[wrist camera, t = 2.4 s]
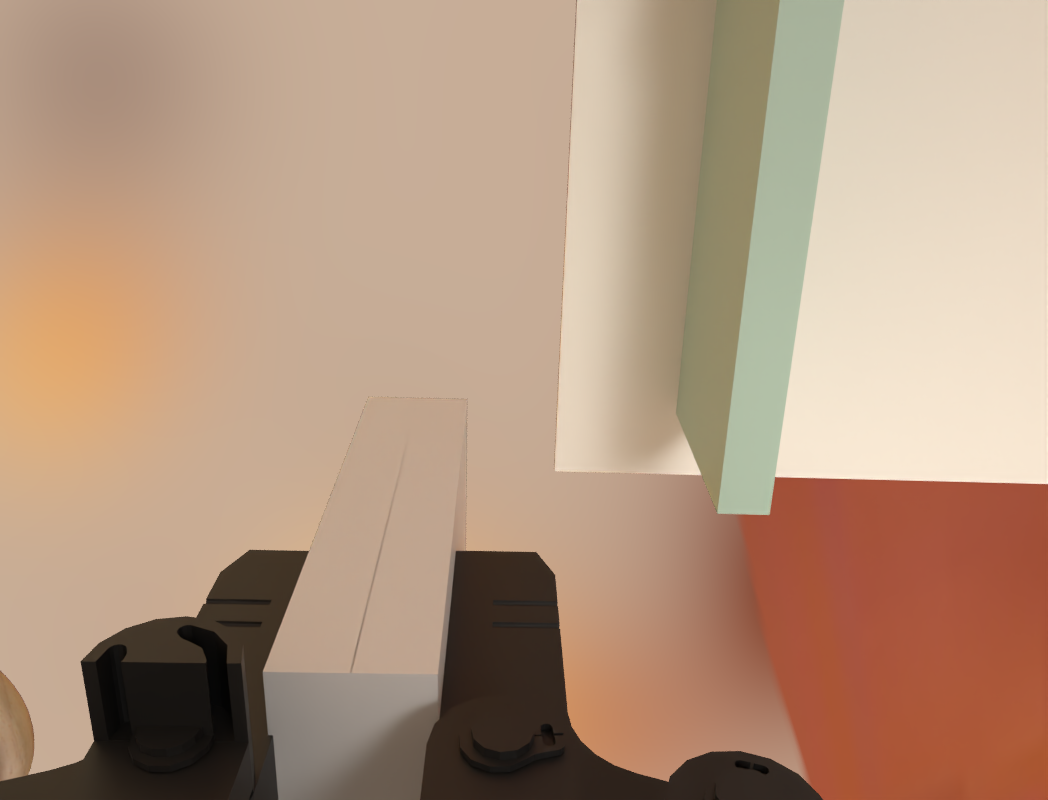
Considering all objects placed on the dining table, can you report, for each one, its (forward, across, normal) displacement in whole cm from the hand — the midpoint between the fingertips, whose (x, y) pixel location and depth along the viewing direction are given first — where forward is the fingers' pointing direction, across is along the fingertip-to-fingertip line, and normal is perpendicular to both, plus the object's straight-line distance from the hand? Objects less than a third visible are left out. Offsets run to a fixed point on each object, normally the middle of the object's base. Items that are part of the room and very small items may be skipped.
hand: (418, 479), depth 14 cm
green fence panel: (+12, +7, +2) cm, 14 cm away
